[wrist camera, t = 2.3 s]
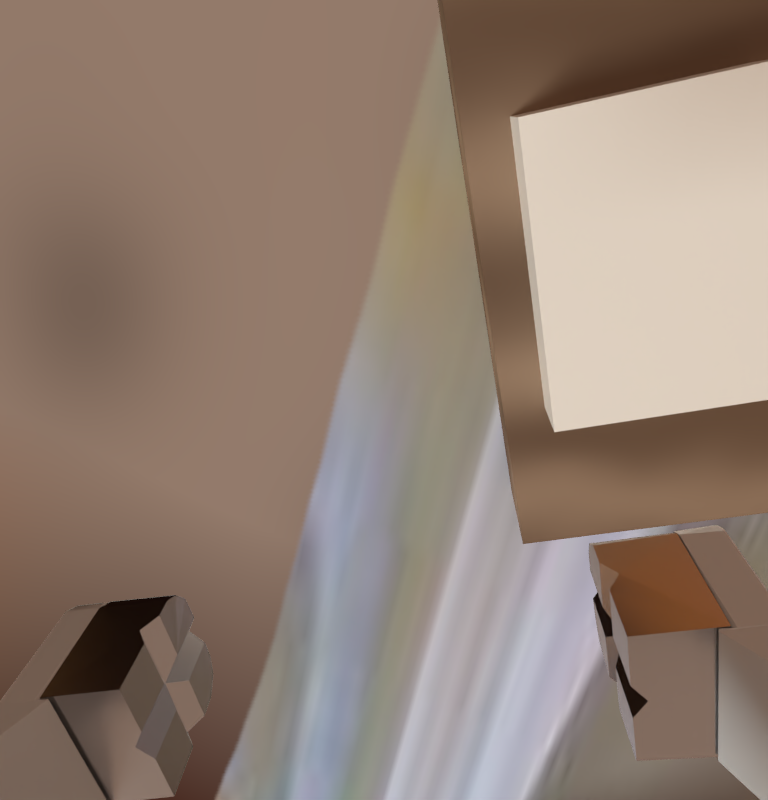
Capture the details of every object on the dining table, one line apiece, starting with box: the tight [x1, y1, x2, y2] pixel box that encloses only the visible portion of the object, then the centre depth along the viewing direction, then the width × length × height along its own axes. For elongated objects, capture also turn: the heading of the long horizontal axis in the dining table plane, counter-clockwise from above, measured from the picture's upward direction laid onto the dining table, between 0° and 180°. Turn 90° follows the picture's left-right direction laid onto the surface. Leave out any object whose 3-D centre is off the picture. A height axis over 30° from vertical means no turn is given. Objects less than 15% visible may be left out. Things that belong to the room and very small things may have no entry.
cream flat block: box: [510, 60, 768, 432], centre depth 20 cm, size 10×7×2 cm
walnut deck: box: [438, 0, 768, 544], centre depth 23 cm, size 22×12×4 cm, turn 12°
